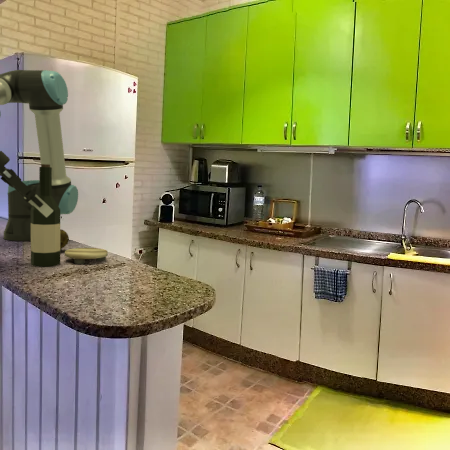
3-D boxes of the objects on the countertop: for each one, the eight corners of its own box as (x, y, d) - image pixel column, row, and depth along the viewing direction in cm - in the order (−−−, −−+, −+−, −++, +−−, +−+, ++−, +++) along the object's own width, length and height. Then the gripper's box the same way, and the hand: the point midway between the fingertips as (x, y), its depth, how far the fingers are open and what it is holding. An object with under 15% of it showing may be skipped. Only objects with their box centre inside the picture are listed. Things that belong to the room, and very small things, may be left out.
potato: (62, 247, 168) (62, 225, 167) (70, 253, 157) (71, 230, 156) (38, 248, 164) (38, 226, 163) (45, 254, 153) (45, 230, 152)
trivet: (65, 257, 150) (65, 248, 150) (105, 256, 154) (105, 247, 154) (64, 265, 138) (64, 255, 138) (109, 264, 142) (109, 254, 142)
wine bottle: (48, 260, 144) (48, 164, 141) (66, 264, 140) (66, 165, 136) (24, 264, 137) (24, 163, 134) (42, 268, 133) (42, 164, 129)
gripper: (-22, 166, 137) (32, 216, 146) (-21, 167, 116) (42, 225, 124) (-3, 150, 139) (49, 199, 148) (2, 148, 117) (63, 206, 126)
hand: (46, 211), depth 136 cm, fingers open, 13 cm apart
